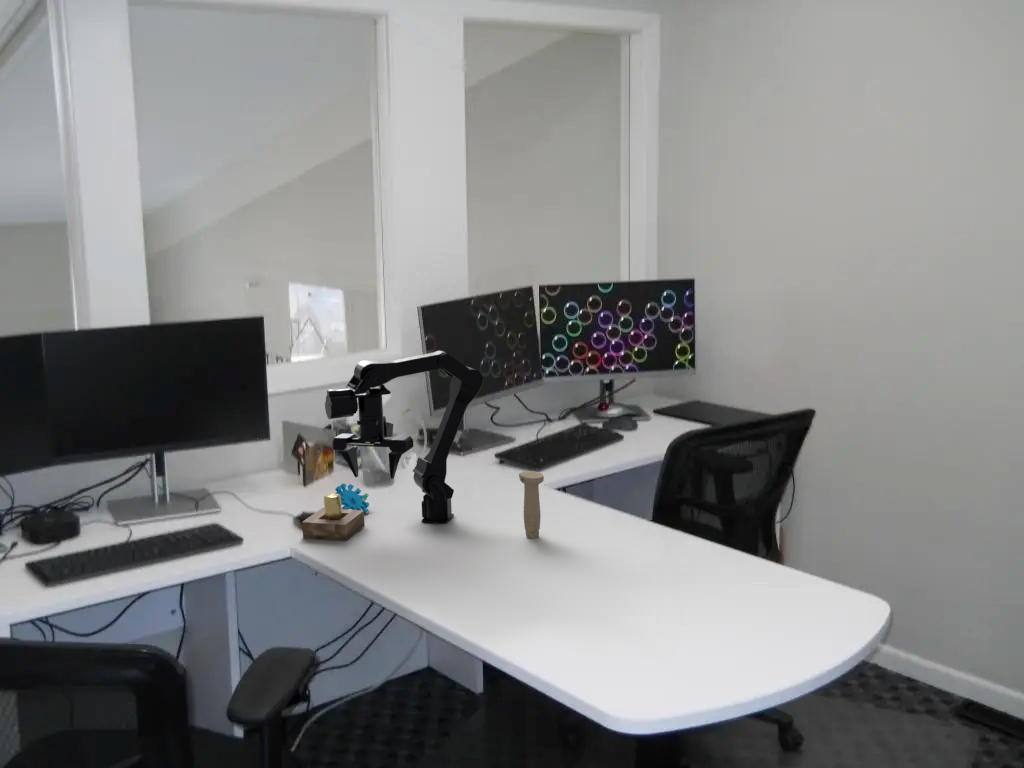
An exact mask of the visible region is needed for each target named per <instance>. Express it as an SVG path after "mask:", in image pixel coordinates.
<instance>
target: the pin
mask: <svg viewBox="0 0 1024 768" xmlns="http://www.w3.org/2000/svg"><path fill="white" fill-rule="evenodd" d="M323 503H324V504H323V506H324V507H323V508H325V520H338V521H339V520H341V519H342V507H343V506H342V505H341V495H340V494H335V493H328V494H325V495H324V496H323Z"/></svg>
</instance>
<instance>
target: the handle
mask: <svg viewBox="0 0 1024 768" xmlns="http://www.w3.org/2000/svg"><path fill="white" fill-rule="evenodd" d="M518 477H519V481H520V482H521V483H522V484H524V487H523V489H524V490H523V492H524V493H523V494H524V495H523V526H524V529H525V536H526V538H528V539H535V538H536V539H537V538H539V536H540V529H541V506H540V490H539V489H540V487H539V486H540V484H541V483H543V482H544V478H545V477H544V474H543V473H541V472H539V471H534V470H526V471H522V472H519V473H518Z"/></svg>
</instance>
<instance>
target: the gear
mask: <svg viewBox="0 0 1024 768" xmlns="http://www.w3.org/2000/svg"><path fill="white" fill-rule="evenodd" d="M346 487H347V489H346ZM353 488H354V485H353V484H351V483H349V484H348V486H347V484H346V483H341V484H340V485H338V486H337V487H335V489H334V490H335V493H334V494H340V495H341V507H342V509H346V510H363V511H364V515H366V514H367V513H368V512H369V509H368V508H369V507H370V503H369V502H368V501H366V500H367V498H368V497H369V494H368V493H364V494H362V495H360V494H361V493H362V490H361V489H360V488H356V489H355V490H353Z"/></svg>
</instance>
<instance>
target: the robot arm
mask: <svg viewBox="0 0 1024 768" xmlns="http://www.w3.org/2000/svg"><path fill="white" fill-rule="evenodd" d="M435 370H441V371H442V372H443V373H444V374H446V375H447V376H448V377H450V378H451V379H450V384H449V400H448V402H447V405H446V408H445V410H444V413H443V416H442V418H441V421H440V423H439V425H438V428H437V432H436V434H435V437H434V439H433V441H432V445H431V446H430V449H429V452H428V453H427V454H426V455H425V456H424V457H421V456H418V457H417V461H416V464H415V467H414V468H413V469H412V472H413V475H412V476H413V480H414V483H415V484H416V486H417V487H418V488H420V489H421V491H422V493H424V495H423V497H422V498H423V500H422V501H421V517H422V519H421V522H422V523H434V524H448V522H450V520H452V519H453V518H454V516H455V514H454V513H452V498H453V495H454V492H455V490H454V488H452V487H451V486H450V485H449V484H447V483H446V478H447V466H448V465H447V464H448V463H447V462H448V457H449V455H450V451H451V450H452V447H453V444H454V441H455V439H456V436H457V433H458V431H459V429H460V426H461V423H462V420H463V418H464V415H465V413H466V411H467V408H468V406H469V405H470V403H472V401H474V399H475V398H476V397H477V395H478V394H479V392H480V391H481V389H482V386H484V385H483V384H484V378H483V375H482V374H481V372H480V371H479V370H478V369H474V368H472V367H469V366H466V365H465V364H463V363H462V362H461V361H458V360H457V359H455V358H454V357H453V356H452V355H451V354H450V353H449V352H446V351H443V350H436V351H434V352H430V353H424V354H420V355H413V356H409V357H403V358H398V359H392V360H381V359H364V360H361V361H358V363H357V364H356V365H355V367H354V370H353V375H352V376H351V378H350V380H349V381H348V383H347V385H346V387H345V388H340V389H334V388H332V389H327V390H326V396H325V402H324V409H325V414H326V417H327V419H328V420H333V419H341V418H349V417H350V418H351V417H354V416H355V414H357V412H358V419H357V420H356V424H357V426H358V427H359V436H358V437H357V435H356V434H355V433H340V434H339V435H336V436H334V437H333V438H332V442H331V447H332V450H333V451H337V454H340V455H341V456H342V457H343V459H344V460H345V462H346V463H347V465H348V467H349V468H350V470H351V472H352V474H353V476H354V477H355V478H358V477H359V463H358V455H357V454H358V447H374V448H377V447H378V448H388V449H389V450H390V452H389V453H388V464H389V465H388V466H389V475H390V479H391V480H393V479H395V475H396V473H397V469H398V465H399V463H400V460H401V458H402V456H403V455H404V454H405V453H407V452H408V451H409V450H411V449H412V448H413V447H414V439H413V437H412V436H411V435H399V434H398V435H395V436H394V435H393V434H394V423H391V422H389V421H387V418H386V415H384V407H383V404H384V403H383V396H385V395H390V394H391V393H392V392H391V390H389V388H387V387H386V385H385V384H387V383H389V382H391V381H392V380H394V379H396V378H400V377H405V376H411V375H416V374H419V373H427V372H430V371H431V372H432V371H435ZM393 436H394V437H393ZM392 437H393V438H392Z"/></svg>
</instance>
